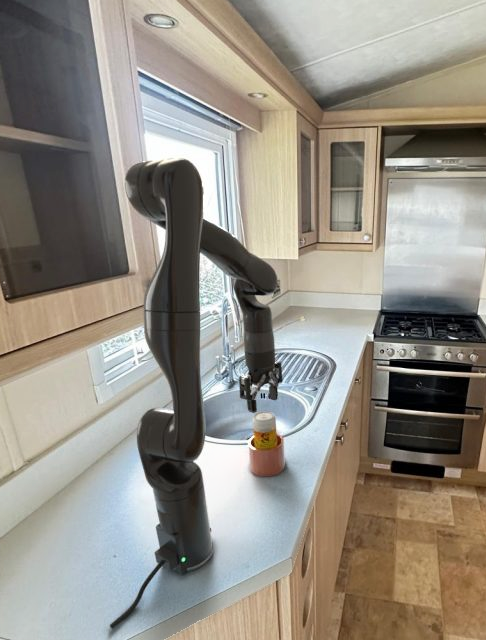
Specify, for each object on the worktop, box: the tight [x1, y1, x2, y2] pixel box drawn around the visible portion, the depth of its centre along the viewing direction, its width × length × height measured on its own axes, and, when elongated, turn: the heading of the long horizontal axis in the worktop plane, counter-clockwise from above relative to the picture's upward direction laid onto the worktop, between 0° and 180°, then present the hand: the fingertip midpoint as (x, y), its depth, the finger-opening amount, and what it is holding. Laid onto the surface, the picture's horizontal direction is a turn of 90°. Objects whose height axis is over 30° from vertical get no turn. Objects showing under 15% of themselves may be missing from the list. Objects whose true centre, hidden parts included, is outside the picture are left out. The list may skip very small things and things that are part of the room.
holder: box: [247, 433, 286, 477], centre depth 112 cm, size 10×10×8 cm
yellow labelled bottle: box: [252, 410, 278, 450], centre depth 111 cm, size 6×6×15 cm
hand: (263, 405), depth 107 cm, fingers open, 8 cm apart
